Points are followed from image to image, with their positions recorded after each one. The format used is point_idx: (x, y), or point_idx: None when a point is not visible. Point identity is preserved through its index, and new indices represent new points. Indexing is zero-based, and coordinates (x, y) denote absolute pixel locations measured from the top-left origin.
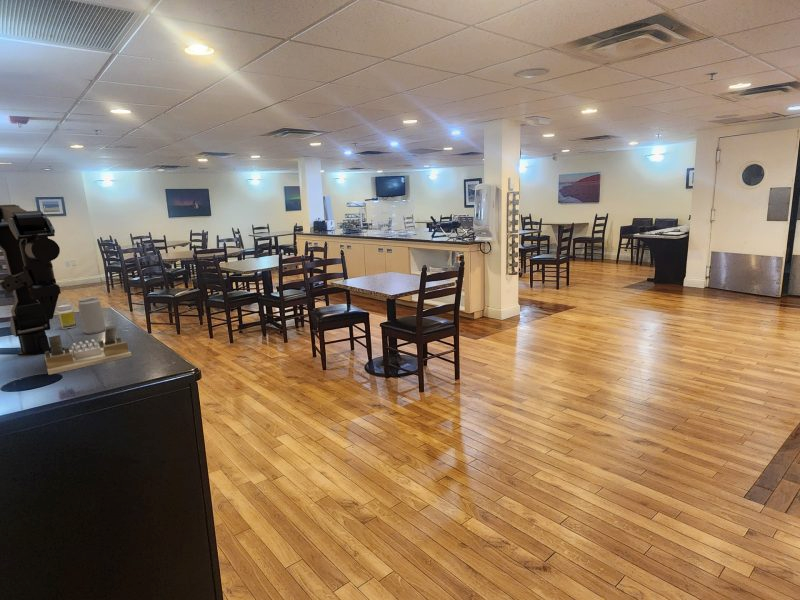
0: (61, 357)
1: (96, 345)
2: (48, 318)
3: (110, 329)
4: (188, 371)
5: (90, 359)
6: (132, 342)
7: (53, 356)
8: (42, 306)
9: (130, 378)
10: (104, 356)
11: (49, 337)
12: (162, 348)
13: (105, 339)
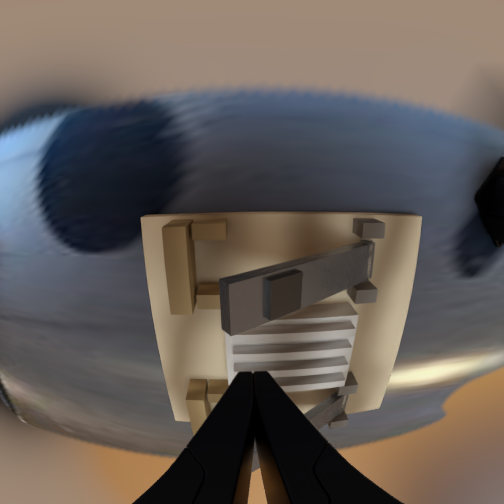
0: (167, 278)
1: None
2: (235, 379)
3: None
4: (16, 413)
5: (188, 342)
6: None
7: None
8: (174, 470)
9: (9, 357)
10: (192, 375)
11: (228, 287)
12: None
13: (315, 409)
